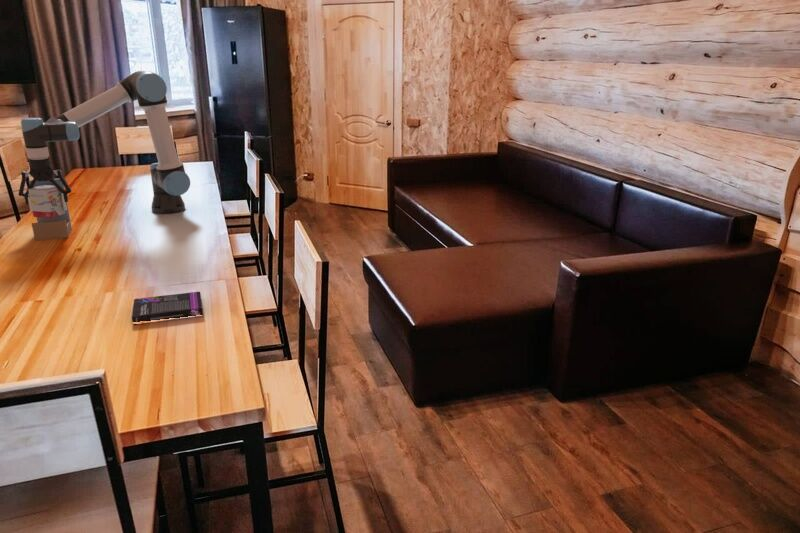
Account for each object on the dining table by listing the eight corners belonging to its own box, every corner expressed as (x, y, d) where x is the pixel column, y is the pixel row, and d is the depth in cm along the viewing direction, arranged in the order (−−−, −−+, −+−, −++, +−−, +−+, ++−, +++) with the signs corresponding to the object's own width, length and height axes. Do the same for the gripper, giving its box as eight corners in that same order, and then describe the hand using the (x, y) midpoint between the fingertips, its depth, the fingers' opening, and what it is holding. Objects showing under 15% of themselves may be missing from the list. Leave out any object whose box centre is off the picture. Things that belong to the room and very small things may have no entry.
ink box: (51, 218, 234) (45, 189, 230) (32, 217, 236) (26, 188, 231) (66, 212, 242) (61, 185, 238) (48, 211, 244) (42, 183, 239)
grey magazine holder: (71, 228, 250) (62, 178, 242) (68, 237, 239) (58, 185, 231) (39, 231, 246) (29, 180, 238) (35, 240, 234) (23, 187, 227)
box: (201, 301, 185) (134, 307, 178) (200, 291, 184) (133, 297, 177) (203, 318, 173) (131, 326, 166) (202, 308, 171) (130, 315, 165)
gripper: (73, 155, 238) (82, 206, 246) (5, 157, 230) (17, 210, 237) (71, 158, 232) (80, 210, 240) (2, 160, 223) (13, 215, 231)
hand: (49, 211), depth 239 cm, fingers closed on ink box, 11 cm apart
